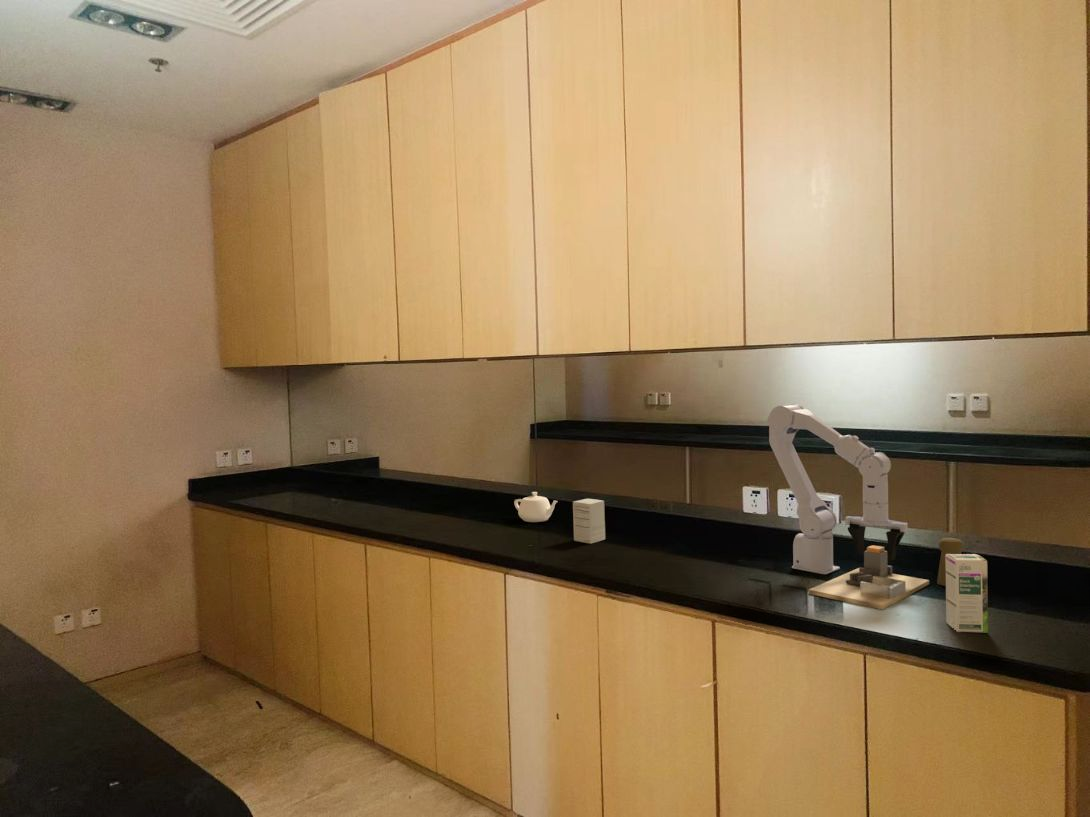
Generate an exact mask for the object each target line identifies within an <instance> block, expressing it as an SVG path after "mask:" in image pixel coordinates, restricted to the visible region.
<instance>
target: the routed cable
mask: <svg viewBox="0 0 1090 817" xmlns="http://www.w3.org/2000/svg"><path fill="white" fill-rule="evenodd" d="M872 580H873V576H872ZM867 582H868V583H871V581H870V580H868V581H867ZM846 583H847V584H850V585H855V586H860V582H858V578H856V579H855V581H852V580H846Z"/></svg>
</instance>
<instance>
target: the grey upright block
mask: <svg viewBox="0 0 1090 817" xmlns="http://www.w3.org/2000/svg"><path fill="white" fill-rule="evenodd" d="M863 558H864V559H863V565H864V566H863V568H867V569H873V570H878V571H882V577H884V576H887V575H888V567H887V565H888V550H885V546H881V545H875V544H874V545H869V546H867V547H866V550H864V554H863Z"/></svg>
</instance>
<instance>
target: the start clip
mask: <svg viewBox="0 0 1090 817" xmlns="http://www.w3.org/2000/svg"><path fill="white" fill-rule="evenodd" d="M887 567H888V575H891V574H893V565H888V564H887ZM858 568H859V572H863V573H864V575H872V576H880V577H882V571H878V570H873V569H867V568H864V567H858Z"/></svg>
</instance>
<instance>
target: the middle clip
mask: <svg viewBox="0 0 1090 817" xmlns="http://www.w3.org/2000/svg"><path fill="white" fill-rule="evenodd" d="M856 578H858V582H862V581H863V582H867V581H868V580H870V581H871V583H872V575H864V573H863V572H858V573H851V574H850V580H852V581H855V579H856Z"/></svg>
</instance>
